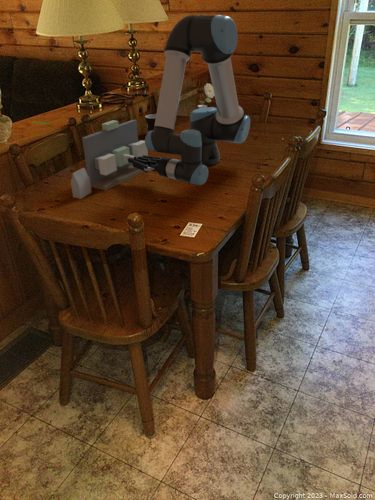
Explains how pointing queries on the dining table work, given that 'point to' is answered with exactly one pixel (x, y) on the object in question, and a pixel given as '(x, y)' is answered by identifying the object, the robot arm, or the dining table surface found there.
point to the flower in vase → (209, 93)
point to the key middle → (120, 155)
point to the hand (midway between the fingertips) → (124, 157)
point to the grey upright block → (80, 184)
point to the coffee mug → (150, 121)
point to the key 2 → (138, 148)
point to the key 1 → (105, 164)
